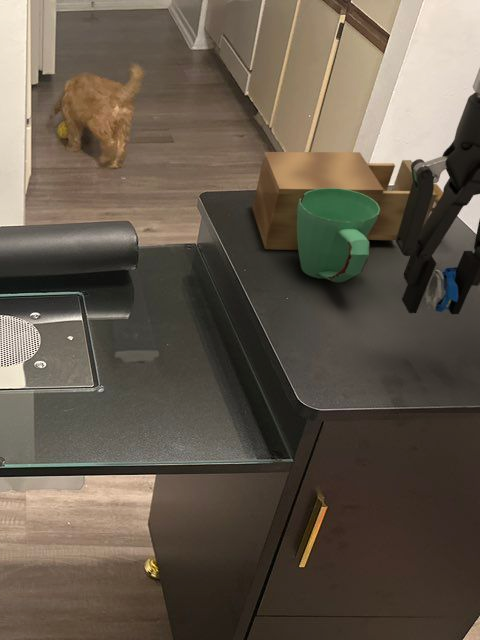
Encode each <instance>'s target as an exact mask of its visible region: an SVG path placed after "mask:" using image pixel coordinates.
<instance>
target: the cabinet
mask: <svg viewBox="0 0 480 640" xmlns="http://www.w3.org/2000/svg"><path fill="white" fill-rule="evenodd" d="M367 163H368V162H367V161H366V160H365V158H364V156H363V154H362V153H361V152H358V151H356V152H353V151H349V152H348V151H347V152H346V151H344V152H343V151H340V152H339V151H318V152H317V151H264V153H263V158H262V163H261V167H260V170H259V171H260V172H259V176H258V181H257V186H256V189H255V190H256V191H255V195H254V199H253V203H252V209H251V210H252V213H253V216H254V219H255V222H256V225H257V230H258V231H259V235H260V238H261V242H262V245H263V247H264V249H265V250H279V251H280V250H283V251H285V250H286V251H298V241H297V213H298V203H299V200H300V198H301V199H302V197H303V195H304V194H305V193H306V192H308V191H312V190H315V189H322V188H340V189H346V190H352V191H355V192H358V193H362V194H364V195H366V196H368V197H370V198H372V199H373V200H374V201H375V202H377V203H378V205H379V202H380V199H381V197H382V194H383V191H384V189H383V188H382V186H381V185H380V183H379V182H378V180H377V178H376V177H375V175H374V174H373V172H372V171H371V169H370V168H369V166H368V164H367ZM368 235H369V233H368ZM368 235H367V237H366V238H368Z"/></svg>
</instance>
